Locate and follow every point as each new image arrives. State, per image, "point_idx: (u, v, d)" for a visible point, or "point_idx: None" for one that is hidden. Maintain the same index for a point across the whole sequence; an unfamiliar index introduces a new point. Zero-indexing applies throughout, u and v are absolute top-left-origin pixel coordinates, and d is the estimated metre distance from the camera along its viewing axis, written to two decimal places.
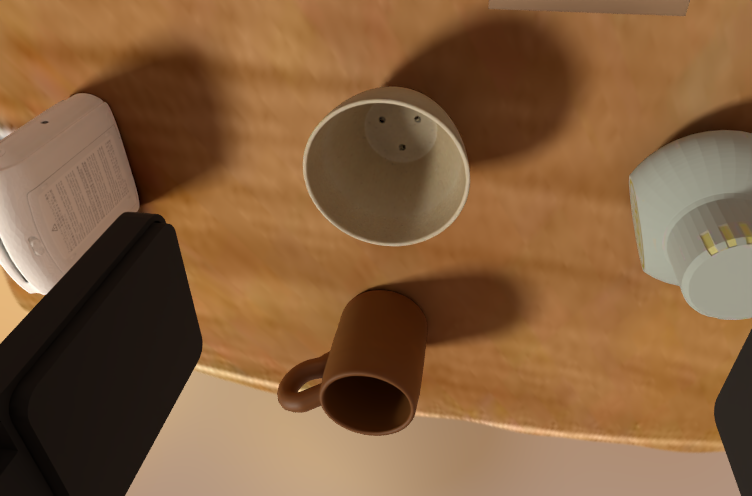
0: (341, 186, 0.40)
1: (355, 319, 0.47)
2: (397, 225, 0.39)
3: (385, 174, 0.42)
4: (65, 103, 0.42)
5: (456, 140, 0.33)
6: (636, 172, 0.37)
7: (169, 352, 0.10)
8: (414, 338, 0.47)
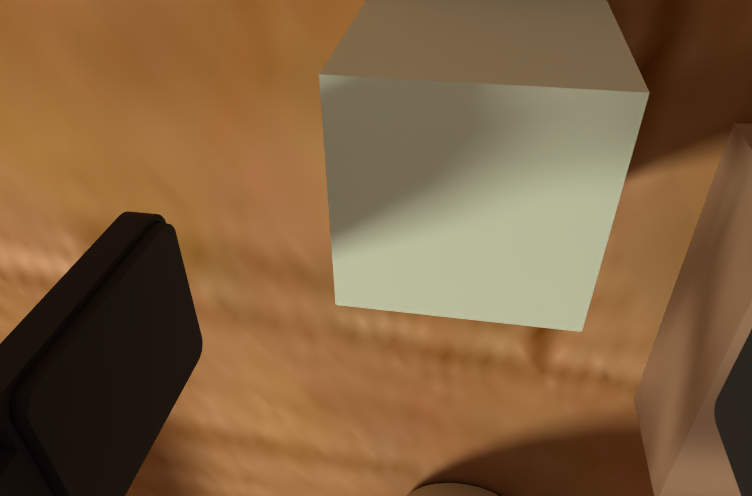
0: None
1: None
2: None
3: None
4: None
5: None
6: None
7: (169, 352, 0.10)
8: None
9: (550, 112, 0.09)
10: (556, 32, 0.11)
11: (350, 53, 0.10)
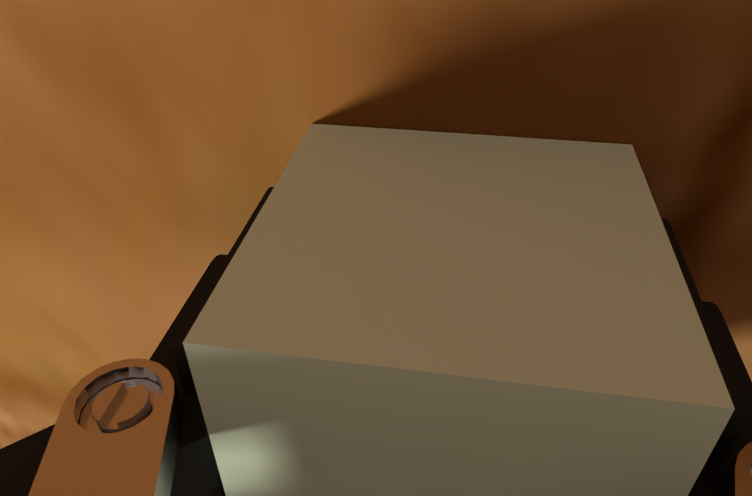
0: None
1: None
2: None
3: None
4: None
5: None
6: None
7: None
8: None
9: (562, 418, 0.06)
10: (568, 229, 0.07)
11: (246, 282, 0.06)
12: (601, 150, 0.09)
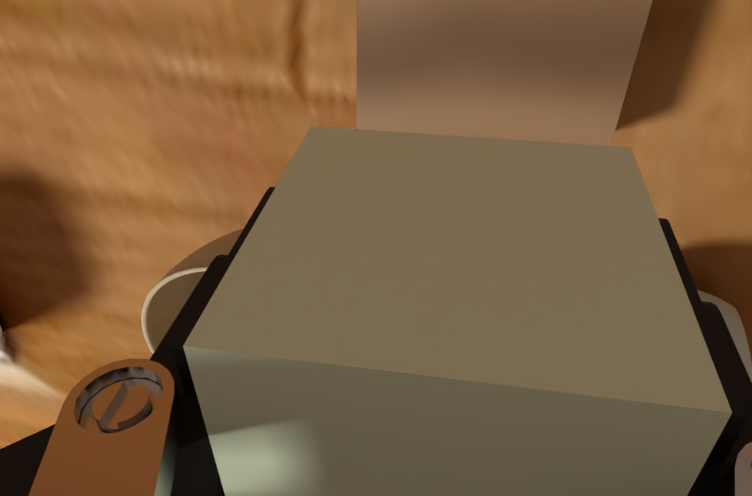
0: None
1: None
2: None
3: None
4: None
5: None
6: None
7: None
8: None
9: (561, 422, 0.06)
10: (566, 232, 0.07)
11: (246, 285, 0.07)
12: (600, 153, 0.09)
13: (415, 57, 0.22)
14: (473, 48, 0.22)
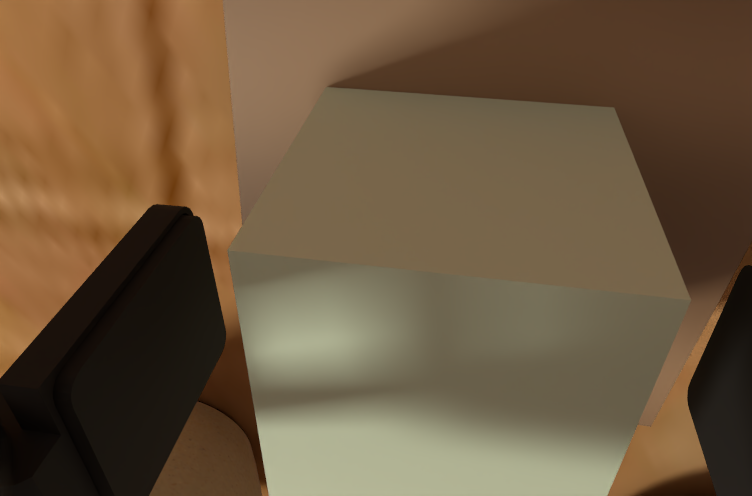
0: None
1: None
2: None
3: None
4: None
5: None
6: None
7: (196, 343, 0.10)
8: None
9: (549, 314, 0.07)
10: (555, 170, 0.08)
11: (278, 207, 0.07)
12: (586, 111, 0.10)
13: None
14: None
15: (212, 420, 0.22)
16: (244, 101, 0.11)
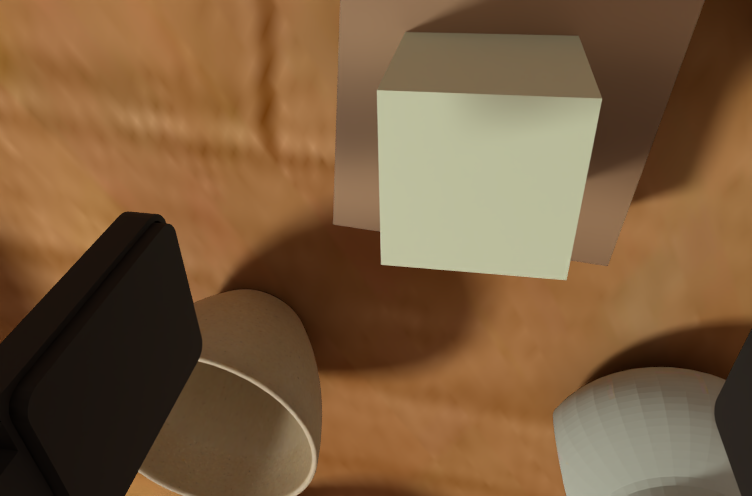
0: (170, 415, 0.30)
1: None
2: (244, 471, 0.29)
3: (239, 386, 0.32)
4: None
5: (286, 406, 0.23)
6: (559, 416, 0.27)
7: (169, 352, 0.10)
8: None
9: (536, 113, 0.14)
10: (541, 60, 0.15)
11: (396, 76, 0.15)
12: (562, 37, 0.17)
13: None
14: None
15: (279, 303, 0.29)
16: (347, 29, 0.18)
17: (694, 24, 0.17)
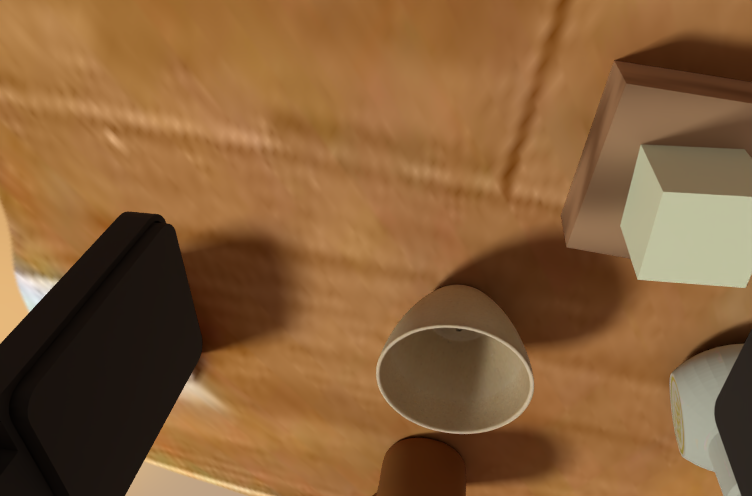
0: (404, 371, 0.42)
1: (402, 472, 0.50)
2: (456, 410, 0.42)
3: (442, 353, 0.44)
4: None
5: (524, 361, 0.36)
6: (680, 375, 0.40)
7: (169, 352, 0.10)
8: (457, 492, 0.50)
9: (746, 204, 0.27)
10: (735, 170, 0.28)
11: (665, 181, 0.28)
12: (736, 151, 0.30)
13: None
14: None
15: (486, 295, 0.42)
16: (611, 137, 0.31)
17: None
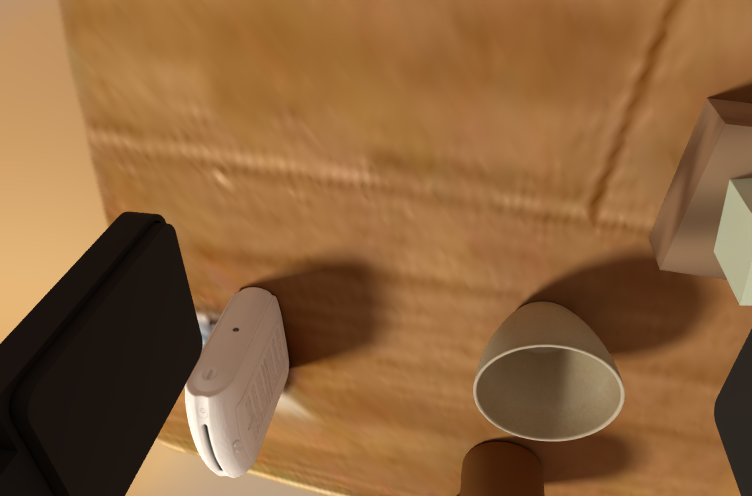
0: (494, 383, 0.45)
1: (485, 475, 0.53)
2: (544, 419, 0.45)
3: (526, 364, 0.47)
4: (244, 302, 0.48)
5: (617, 375, 0.39)
6: None
7: (169, 352, 0.10)
8: (539, 493, 0.53)
9: None
10: None
11: None
12: None
13: None
14: None
15: None
16: (709, 171, 0.33)
17: None
